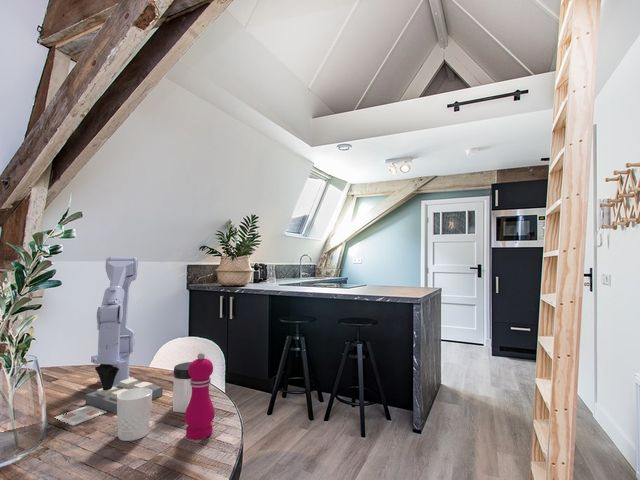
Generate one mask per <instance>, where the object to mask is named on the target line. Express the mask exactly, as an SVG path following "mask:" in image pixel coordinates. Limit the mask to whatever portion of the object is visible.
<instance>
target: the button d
mask: <svg viewBox="0 0 640 480" xmlns="http://www.w3.org/2000/svg"><path fill="white" fill-rule="evenodd" d="M141 382H142V383H139V384H136V385H133V389H135V388H148V389H153V385H154V383H152V382H148V381H141Z"/></svg>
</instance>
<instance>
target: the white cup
mask: <svg viewBox="0 0 640 480" xmlns="http://www.w3.org/2000/svg"><path fill="white" fill-rule="evenodd" d="M152 400H153V399H152V390H151V389H148V388H135V389H130V390H126V391H123V392H121V393H119V394H118V395H117V413H116V418H117V419H116V421H117V438H118V439H119V440H120V441H125V442H130V441H131V442H132V441H136V440H139V439H142V438H144V437H146V436H147V435H148V434H149V431H150V430H149V429H150V421H151V413H152Z"/></svg>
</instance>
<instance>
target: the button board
mask: <svg viewBox="0 0 640 480" xmlns="http://www.w3.org/2000/svg"><path fill="white" fill-rule="evenodd" d="M142 382H143V381H140V380H138V384H139V383H142ZM112 387H116V388H118V390H121V389H126V388H122V387H119V384H117V385H114V386H112ZM163 388H164V387H163V386H159V385H155V384H153V389H151V390H152V400H155V399H158V398H160V397H162V396H163ZM127 389H128V390H130V389H133V387H130V388H127ZM86 403H87V405H89V406H92V407H95V408H98V409H101V410H104V411H107V412H111V413H115V414H117V400H115V399H112V398H111V394H110V395H107V396H102V395H98V394H97V390H96V391H93V392H89V393H86V394H85V404H86Z"/></svg>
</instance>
